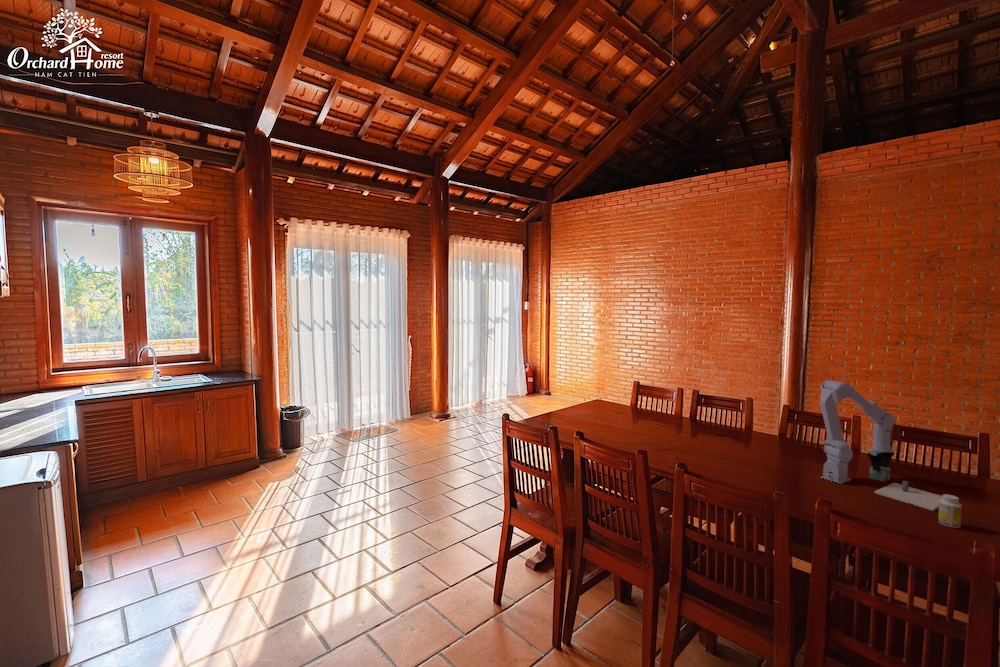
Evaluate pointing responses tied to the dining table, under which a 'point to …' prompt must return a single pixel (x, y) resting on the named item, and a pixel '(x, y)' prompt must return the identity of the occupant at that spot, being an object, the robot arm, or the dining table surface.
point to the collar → (880, 474)
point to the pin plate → (911, 495)
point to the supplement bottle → (950, 511)
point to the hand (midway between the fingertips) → (880, 468)
